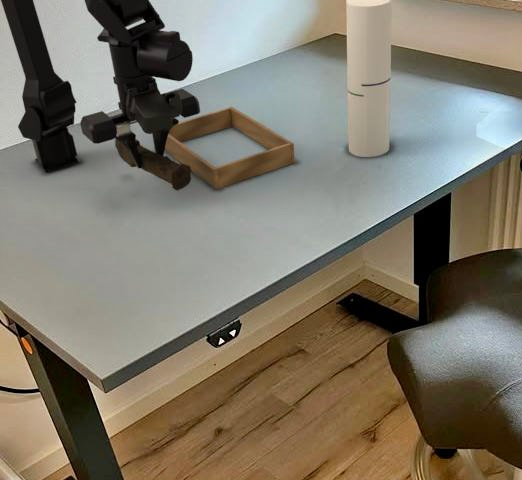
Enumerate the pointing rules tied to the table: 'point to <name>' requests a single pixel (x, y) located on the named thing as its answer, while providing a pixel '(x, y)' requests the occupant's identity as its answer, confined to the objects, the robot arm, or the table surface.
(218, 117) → the wooden rectangular frame
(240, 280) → the table surface
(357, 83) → the cylindrical container
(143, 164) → the dark brown long piece
